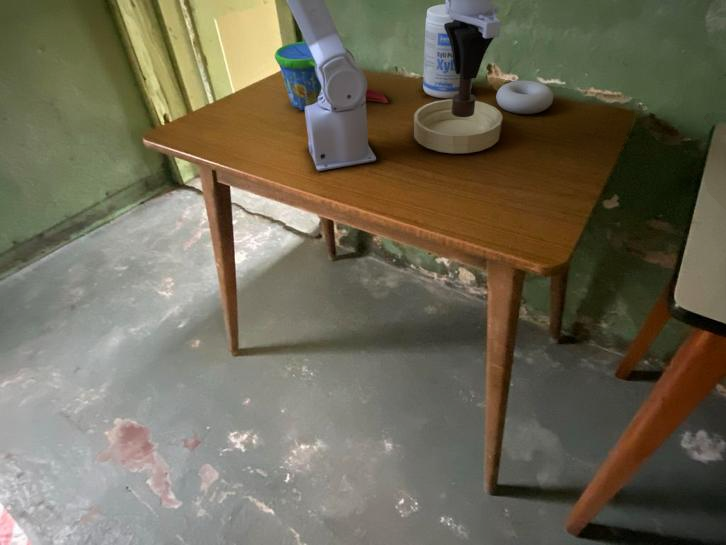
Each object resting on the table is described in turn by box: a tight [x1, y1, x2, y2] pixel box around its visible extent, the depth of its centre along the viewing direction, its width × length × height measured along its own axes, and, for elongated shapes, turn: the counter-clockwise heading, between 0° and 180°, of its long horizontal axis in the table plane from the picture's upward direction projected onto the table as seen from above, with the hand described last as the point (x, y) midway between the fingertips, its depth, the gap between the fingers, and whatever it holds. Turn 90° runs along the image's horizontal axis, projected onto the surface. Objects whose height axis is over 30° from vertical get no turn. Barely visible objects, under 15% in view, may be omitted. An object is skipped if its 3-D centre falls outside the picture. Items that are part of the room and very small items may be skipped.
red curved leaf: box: [365, 88, 389, 104], centre depth 96 cm, size 12×5×2 cm, turn 50°
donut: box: [495, 79, 554, 115], centre depth 89 cm, size 10×4×10 cm
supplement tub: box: [422, 3, 473, 100], centre depth 93 cm, size 10×10×15 cm
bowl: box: [413, 98, 504, 154], centre depth 81 cm, size 14×14×4 cm
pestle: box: [451, 68, 477, 117], centre depth 75 cm, size 4×4×10 cm
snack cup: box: [274, 41, 322, 111], centre depth 93 cm, size 16×10×10 cm
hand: (465, 75), depth 75 cm, fingers closed on pestle, 2 cm apart
